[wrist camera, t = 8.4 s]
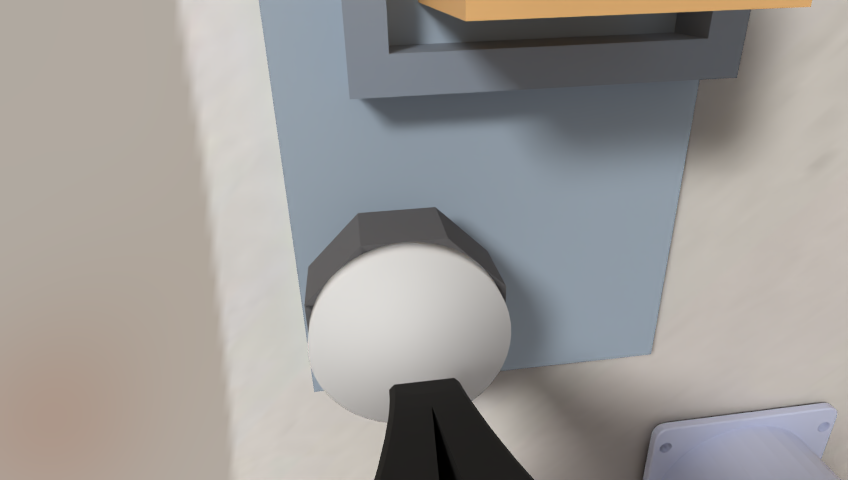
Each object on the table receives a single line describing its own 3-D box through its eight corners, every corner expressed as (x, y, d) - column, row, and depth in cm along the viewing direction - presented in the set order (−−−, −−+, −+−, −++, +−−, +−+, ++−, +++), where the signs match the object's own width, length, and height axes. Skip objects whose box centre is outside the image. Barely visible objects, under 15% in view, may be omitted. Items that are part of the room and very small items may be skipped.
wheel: (485, 353, 18) (507, 411, 15) (322, 370, 17) (319, 434, 15) (488, 202, 15) (515, 244, 13) (301, 217, 15) (294, 263, 13)
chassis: (640, 341, 21) (677, 386, 19) (315, 376, 20) (312, 430, 18) (744, -287, 13) (829, -341, 11) (221, -297, 12) (194, -360, 10)
